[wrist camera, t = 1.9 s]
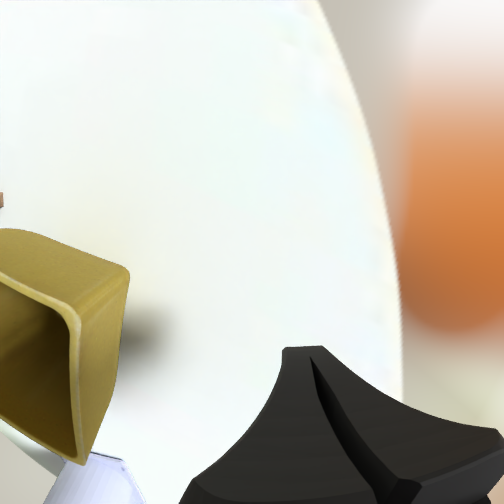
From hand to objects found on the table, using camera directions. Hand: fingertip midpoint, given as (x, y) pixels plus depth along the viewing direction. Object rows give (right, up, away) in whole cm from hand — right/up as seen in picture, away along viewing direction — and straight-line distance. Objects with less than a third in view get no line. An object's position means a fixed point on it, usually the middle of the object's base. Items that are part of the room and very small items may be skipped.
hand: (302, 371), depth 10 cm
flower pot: (-12, +1, +8) cm, 14 cm away
